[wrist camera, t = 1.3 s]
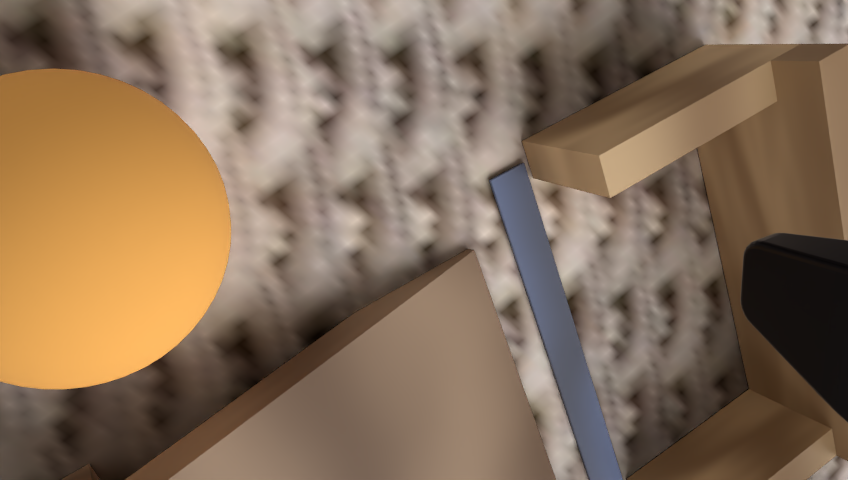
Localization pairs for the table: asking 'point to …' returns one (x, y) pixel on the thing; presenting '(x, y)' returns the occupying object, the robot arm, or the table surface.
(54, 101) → the ball
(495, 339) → the ramp
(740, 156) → the wooden u-shaped bracket
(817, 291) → the robot arm
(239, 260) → the table surface
